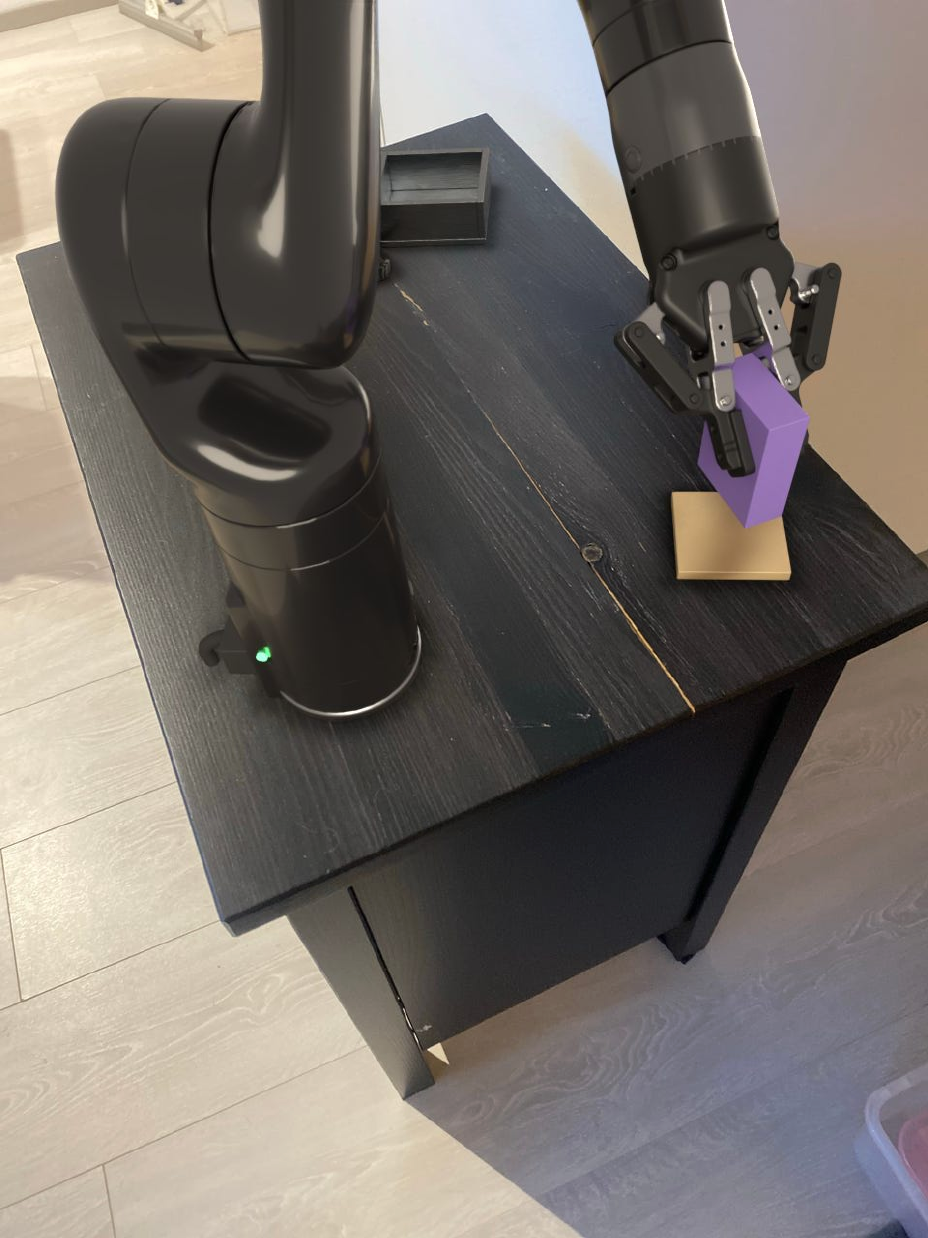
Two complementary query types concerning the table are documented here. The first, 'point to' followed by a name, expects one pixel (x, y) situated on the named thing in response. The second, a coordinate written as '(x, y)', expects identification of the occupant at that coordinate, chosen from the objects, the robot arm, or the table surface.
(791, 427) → the purple rectangular block
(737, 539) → the coaster
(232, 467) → the robot arm
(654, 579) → the table surface
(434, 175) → the black tray
